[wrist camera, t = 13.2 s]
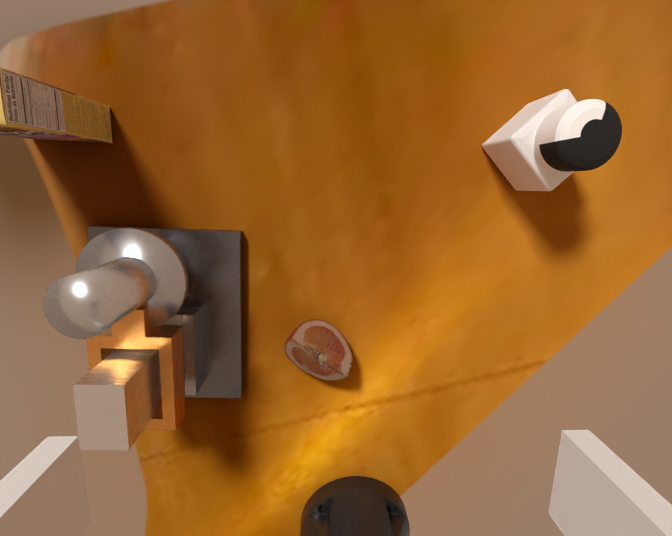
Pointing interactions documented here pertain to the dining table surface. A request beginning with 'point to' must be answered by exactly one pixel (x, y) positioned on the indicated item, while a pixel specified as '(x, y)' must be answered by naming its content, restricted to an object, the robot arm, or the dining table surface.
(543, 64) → the dining table surface
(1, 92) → the candy box
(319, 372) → the fruit slice
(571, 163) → the medicine bottle
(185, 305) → the grey press stand
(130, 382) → the rectangular block
